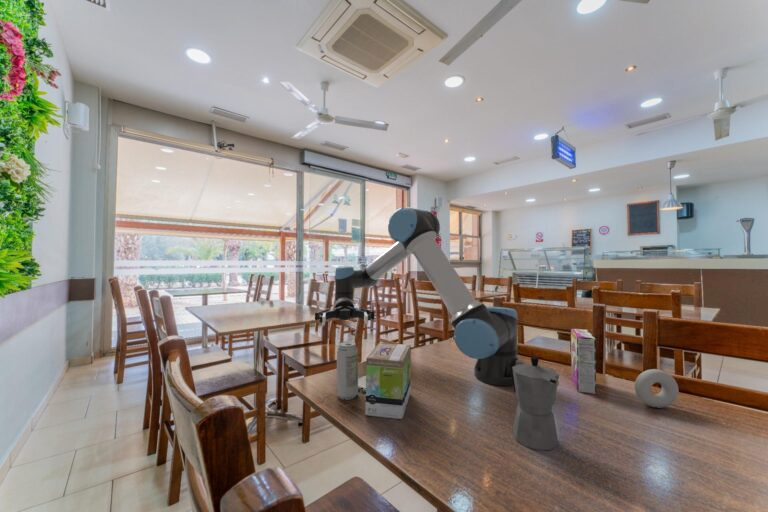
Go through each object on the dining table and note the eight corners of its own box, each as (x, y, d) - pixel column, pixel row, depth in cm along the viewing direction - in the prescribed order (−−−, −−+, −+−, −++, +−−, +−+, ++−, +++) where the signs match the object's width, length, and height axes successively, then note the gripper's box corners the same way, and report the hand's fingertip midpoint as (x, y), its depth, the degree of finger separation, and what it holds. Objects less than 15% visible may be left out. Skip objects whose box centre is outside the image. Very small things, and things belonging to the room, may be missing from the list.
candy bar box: (570, 378, 105) (570, 328, 105) (588, 380, 103) (588, 329, 103) (576, 392, 94) (576, 336, 94) (596, 395, 93) (596, 338, 92)
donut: (671, 405, 86) (672, 367, 86) (682, 411, 83) (682, 372, 83) (631, 403, 87) (631, 366, 87) (640, 409, 84) (640, 371, 84)
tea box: (404, 420, 79) (403, 360, 79) (364, 416, 81) (364, 357, 81) (411, 394, 94) (411, 343, 94) (377, 391, 96) (377, 341, 96)
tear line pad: (394, 382, 102) (394, 379, 102) (370, 395, 93) (370, 392, 93) (369, 374, 108) (369, 372, 108) (345, 386, 99) (345, 384, 99)
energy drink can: (348, 389, 97) (348, 339, 97) (362, 395, 93) (362, 343, 93) (332, 396, 93) (332, 343, 92) (346, 402, 88) (345, 348, 88)
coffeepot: (576, 453, 66) (577, 365, 65) (536, 460, 64) (536, 369, 63) (527, 416, 81) (527, 344, 81) (493, 421, 79) (493, 347, 78)
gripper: (376, 317, 125) (384, 331, 104) (311, 319, 122) (305, 333, 101) (376, 298, 125) (384, 308, 104) (311, 299, 122) (305, 309, 101)
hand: (345, 320), depth 102 cm, fingers open, 13 cm apart
